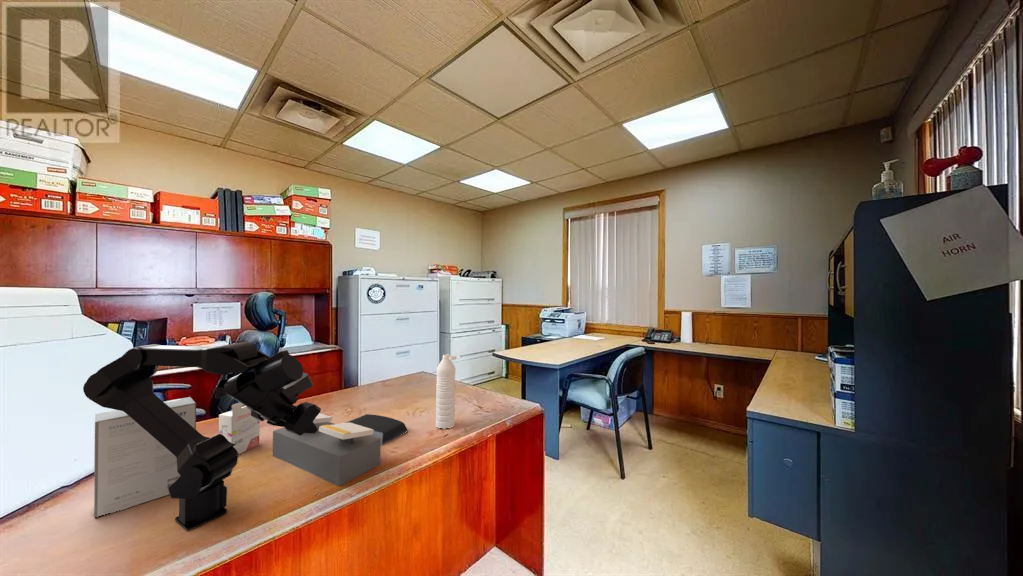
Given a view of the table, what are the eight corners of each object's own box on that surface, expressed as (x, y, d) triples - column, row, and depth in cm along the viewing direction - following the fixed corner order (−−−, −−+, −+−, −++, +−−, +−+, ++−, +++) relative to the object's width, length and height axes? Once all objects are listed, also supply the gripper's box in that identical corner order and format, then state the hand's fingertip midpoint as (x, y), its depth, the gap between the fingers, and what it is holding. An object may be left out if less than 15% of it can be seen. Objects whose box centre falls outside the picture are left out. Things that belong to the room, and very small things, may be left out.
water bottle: (432, 425, 119) (433, 354, 119) (448, 421, 123) (449, 352, 124) (445, 433, 112) (446, 358, 113) (461, 428, 117) (462, 355, 117)
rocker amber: (342, 439, 83) (344, 433, 84) (318, 431, 88) (319, 425, 88) (372, 434, 91) (373, 428, 91) (348, 426, 96) (349, 421, 96)
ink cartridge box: (246, 443, 104) (247, 394, 104) (259, 444, 103) (261, 395, 103) (217, 456, 95) (218, 403, 96) (231, 458, 94) (232, 405, 95)
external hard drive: (379, 448, 102) (379, 434, 102) (335, 436, 110) (335, 423, 111) (409, 432, 114) (409, 420, 114) (367, 422, 122) (368, 411, 122)
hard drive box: (190, 475, 85) (192, 396, 86) (196, 487, 81) (198, 402, 81) (92, 505, 73) (95, 412, 74) (92, 520, 69) (94, 421, 69)
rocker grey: (300, 425, 92) (302, 419, 92) (280, 418, 97) (282, 412, 97) (331, 421, 100) (332, 416, 100) (311, 415, 105) (312, 410, 105)
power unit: (339, 486, 81) (339, 448, 82) (272, 455, 96) (273, 423, 96) (380, 464, 92) (380, 430, 92) (314, 439, 106) (315, 411, 107)
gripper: (312, 368, 72) (357, 405, 82) (266, 359, 82) (311, 393, 91) (271, 416, 65) (325, 451, 75) (226, 400, 75) (279, 433, 84)
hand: (310, 429), depth 81 cm, fingers open, 4 cm apart
